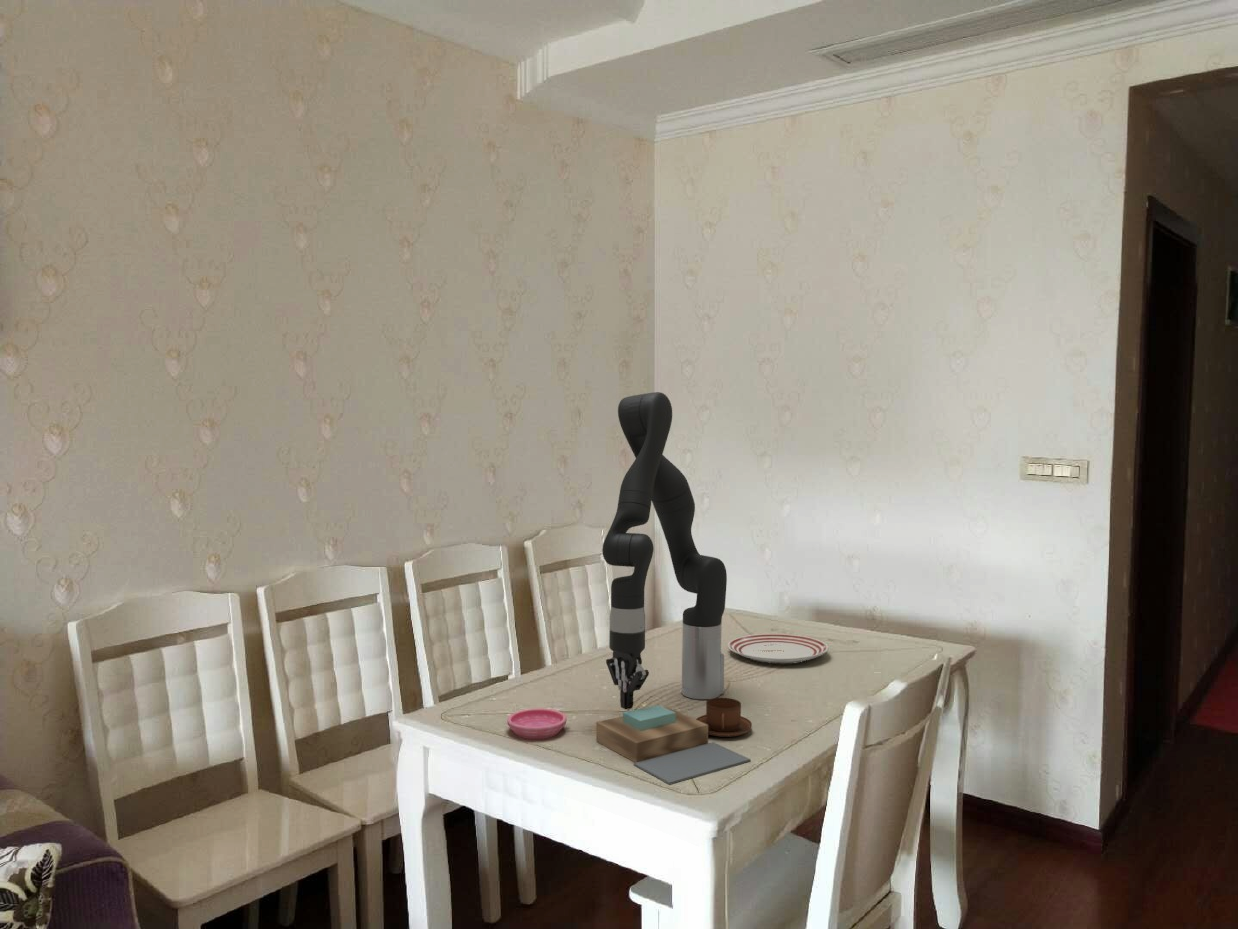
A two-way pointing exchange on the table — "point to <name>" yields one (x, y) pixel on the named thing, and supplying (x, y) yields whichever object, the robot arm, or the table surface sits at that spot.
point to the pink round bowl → (537, 723)
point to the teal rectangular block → (649, 717)
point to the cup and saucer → (725, 718)
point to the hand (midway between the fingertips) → (626, 708)
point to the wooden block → (651, 737)
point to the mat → (691, 762)
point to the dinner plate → (778, 647)
